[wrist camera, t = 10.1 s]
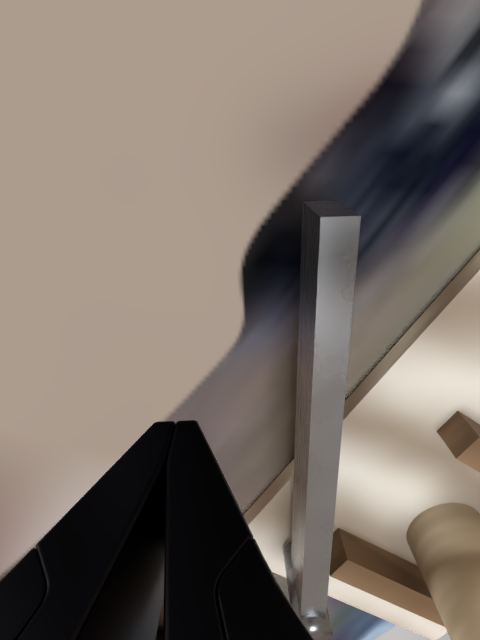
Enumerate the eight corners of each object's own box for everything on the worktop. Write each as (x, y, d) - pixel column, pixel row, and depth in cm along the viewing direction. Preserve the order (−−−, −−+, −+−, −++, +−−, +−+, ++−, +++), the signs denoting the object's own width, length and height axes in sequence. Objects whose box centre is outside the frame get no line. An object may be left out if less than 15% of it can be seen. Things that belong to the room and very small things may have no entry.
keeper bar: (313, 560, 25) (331, 645, 21) (282, 561, 25) (294, 647, 21) (336, 196, 16) (374, 217, 12) (290, 197, 16) (312, 219, 12)
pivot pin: (444, 566, 26) (510, 696, 20) (390, 540, 25) (443, 669, 19) (498, 521, 24) (587, 647, 18) (443, 491, 23) (519, 614, 17)
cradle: (428, 625, 30) (449, 675, 27) (224, 536, 26) (224, 585, 23) (713, 404, 23) (780, 441, 20) (496, 230, 18) (543, 247, 16)
